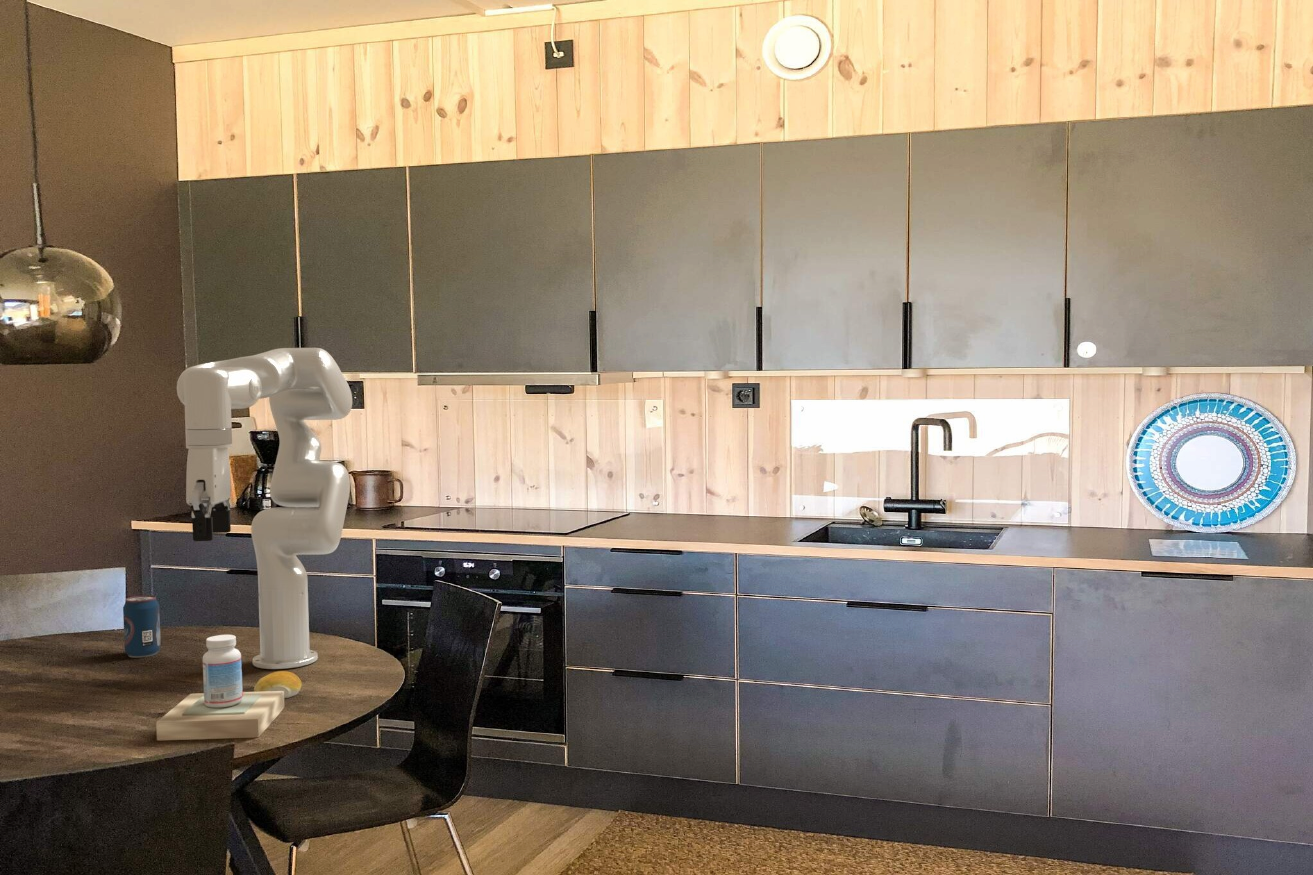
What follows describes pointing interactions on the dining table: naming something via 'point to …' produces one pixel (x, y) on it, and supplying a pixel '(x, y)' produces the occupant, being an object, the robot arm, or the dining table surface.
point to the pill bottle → (222, 672)
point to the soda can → (141, 626)
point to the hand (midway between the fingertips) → (212, 536)
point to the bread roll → (280, 683)
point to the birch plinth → (220, 717)
